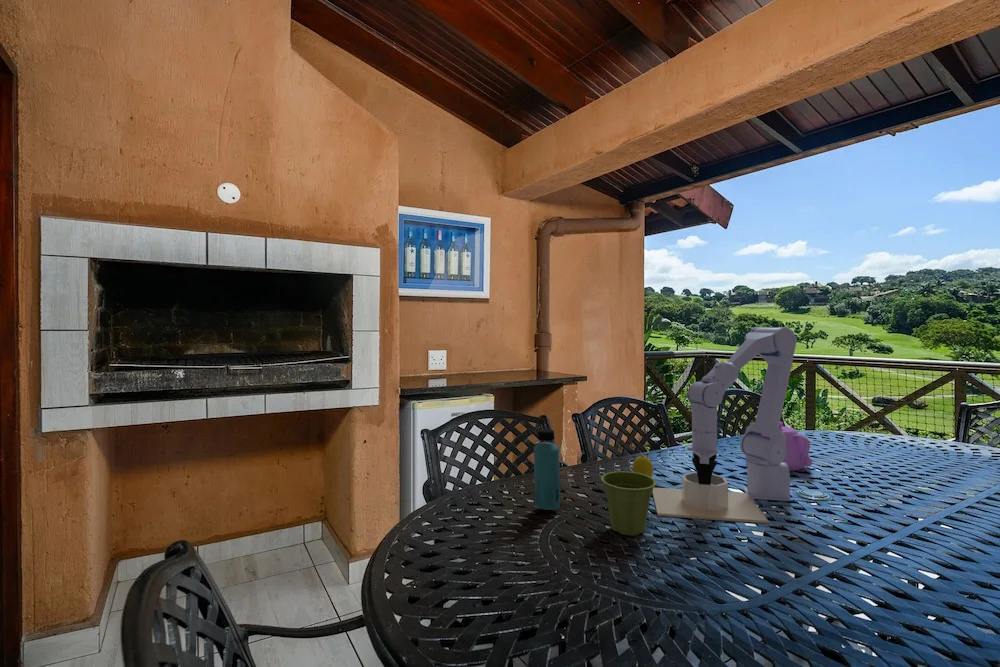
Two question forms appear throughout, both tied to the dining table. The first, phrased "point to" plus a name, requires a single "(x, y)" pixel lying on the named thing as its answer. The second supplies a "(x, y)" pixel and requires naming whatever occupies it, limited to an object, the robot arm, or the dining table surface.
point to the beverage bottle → (546, 472)
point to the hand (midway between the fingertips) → (704, 484)
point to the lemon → (643, 466)
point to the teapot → (795, 448)
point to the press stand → (706, 501)
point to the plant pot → (628, 500)
